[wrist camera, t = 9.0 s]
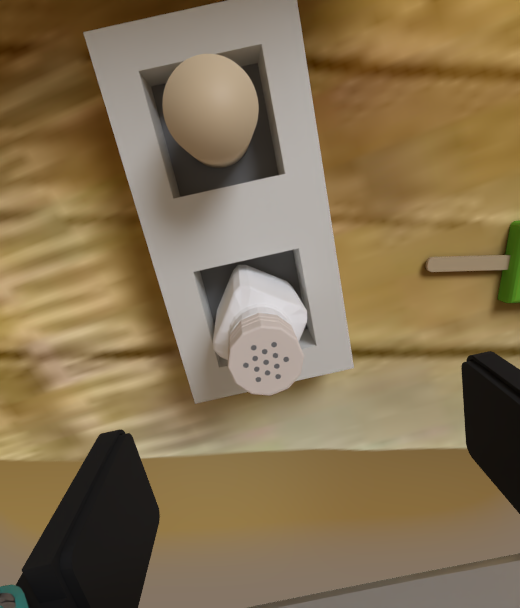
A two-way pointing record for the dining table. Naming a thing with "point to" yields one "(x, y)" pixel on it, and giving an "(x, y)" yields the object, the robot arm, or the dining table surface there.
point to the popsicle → (489, 265)
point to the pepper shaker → (260, 331)
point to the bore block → (225, 170)
